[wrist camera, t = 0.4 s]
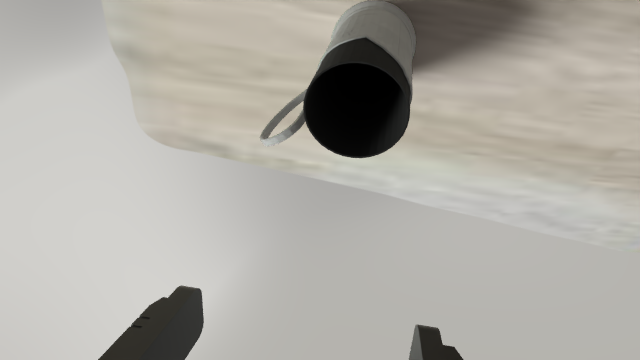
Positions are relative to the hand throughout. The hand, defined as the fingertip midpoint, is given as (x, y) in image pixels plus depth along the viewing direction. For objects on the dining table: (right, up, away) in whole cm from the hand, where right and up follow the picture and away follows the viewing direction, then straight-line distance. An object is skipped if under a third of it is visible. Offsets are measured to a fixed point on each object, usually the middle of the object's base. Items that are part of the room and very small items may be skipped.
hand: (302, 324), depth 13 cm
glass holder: (+4, +18, +24) cm, 31 cm away
